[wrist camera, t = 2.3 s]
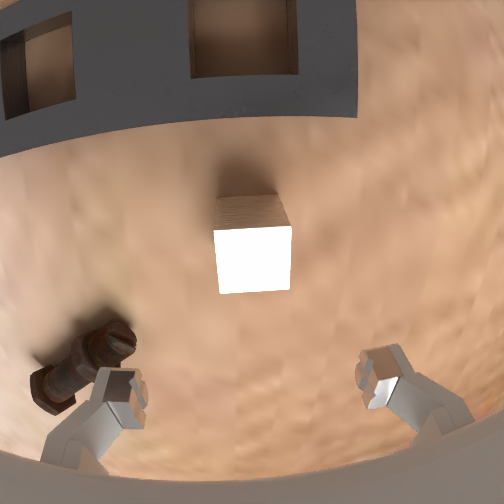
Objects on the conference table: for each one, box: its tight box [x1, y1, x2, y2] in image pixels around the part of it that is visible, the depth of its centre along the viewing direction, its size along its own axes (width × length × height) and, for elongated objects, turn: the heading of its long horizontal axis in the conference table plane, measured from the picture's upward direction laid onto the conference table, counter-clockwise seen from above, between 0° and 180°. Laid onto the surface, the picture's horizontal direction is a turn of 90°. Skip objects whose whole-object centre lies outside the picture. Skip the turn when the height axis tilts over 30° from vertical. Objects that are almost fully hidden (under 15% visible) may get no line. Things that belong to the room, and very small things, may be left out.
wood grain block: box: [214, 194, 291, 293], centre depth 20 cm, size 4×4×5 cm
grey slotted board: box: [0, 0, 358, 158], centre depth 14 cm, size 24×10×3 cm, turn 92°
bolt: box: [30, 321, 137, 416], centre depth 26 cm, size 6×5×15 cm
